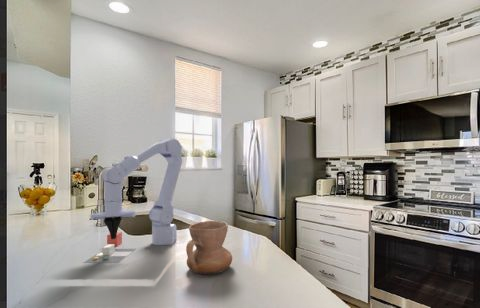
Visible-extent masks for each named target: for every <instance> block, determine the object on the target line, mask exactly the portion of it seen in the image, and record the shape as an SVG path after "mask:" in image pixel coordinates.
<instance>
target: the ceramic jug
mask: <svg viewBox="0 0 480 308" xmlns="http://www.w3.org/2000/svg"><path fill="white" fill-rule="evenodd" d="M228 225H229V224H228V223H227V222H226V221H220V220H205V221H199V222H196V223H193V224H190V225H189V227H188V230H189V234H190V237H191V239H190V240H189V241H188V242H187V243H186V247H185V250H186V256H187V259H186V265H187V268H188V269H189V270H191V272H194V273H196V274H202V275H213V274H218V273H221V272H223V271H225V270H227V269H228V268H229V267H230V266H231V264H232V261H233V254H232V252H230V250H229V249H226V248H225V247H224V246H223V245H224V243H225V241H226V238H227V237H226V236H227V234H228V229H229V227H228ZM194 246H195V249H194Z"/></svg>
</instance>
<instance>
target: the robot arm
mask: <svg viewBox="0 0 480 308" xmlns="http://www.w3.org/2000/svg"><path fill="white" fill-rule="evenodd" d="M182 149H183V146H182V144H181V143H180V141H179V140H178V139H176V138H171V139H161V140H158V142H154V144H153V143H152V145H150V146H149V147H147V148H146V149H144V150H143V151H141V152H140V153H138V154H136V156H135V155H125V156H124V157H123V158H124V159H122V160H121V161H119V162H115V163H113V164H112V167H107V168H105V169H104V170H103V172H102V174H101V179H102V181H103V183H104V190H103V192H104V196H103V197H104V199H103V200H104V212H96V213H90V214H89V215H90V221H95V220H104V221H103V222H104V225H106V228H107V229H108V232H109V234H110V235H111V239H116V235H117V232H118V230H119V226H120V225H121V222H122V220H123V218H135V217H136V210H123V188H122V187H123V186H122V185H123V184H122V182H123V181H124V180H125V178H126V177H128V175H130V174H132V173H133V172H135V171H137V170H139V168H140V167H141V163H144V162H145V161H147V160H149V159H150V158H152V157H154V156H155V155H157V154H159V155H161V156H162V157H163V158H164V159H165V160H166V162H167V163H168V164H167V166H166V171H165V174H164V177H163V181H162V185H161V189H160V192H159V197H158V199H157V200H156V201H154V203H153V206H152V208H150V210H149V212H148V217H149V218H148V219H150V220H151V228H152V229H151V238H152V239H151V243H152V245H153V246H164V245H166V246H167V245H171V246H173V245H174V244H175V243H176V242H177V241H178V239H177V236H178V235H177V233H178V232H177V225H176V224H175V223H171V222H173V220H174V215H175V214H174V209H175V207H174V204H173V202H172V201H173V197H174V195H175V194H174V193H175V189H176V187H177V184H178V183H177V182H178V179H179V174H180V171H181V167H182V163H183V157H182Z"/></svg>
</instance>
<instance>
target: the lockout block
mask: <svg viewBox="0 0 480 308" xmlns="http://www.w3.org/2000/svg"><path fill="white" fill-rule="evenodd" d="M108 244H115V247H119V246H120V245H122V244H123V232H120V231H117V235H116V239H111V235H110V233H108V234H107V235H106V245H108Z"/></svg>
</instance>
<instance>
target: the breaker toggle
mask: <svg viewBox="0 0 480 308" xmlns="http://www.w3.org/2000/svg"><path fill="white" fill-rule="evenodd" d="M115 247H116V246H115V244H108V245H107V244H106V245H105V246H103V247H102V251H103V255H111V254H112V253H113V252H115V249H116V248H115Z"/></svg>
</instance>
